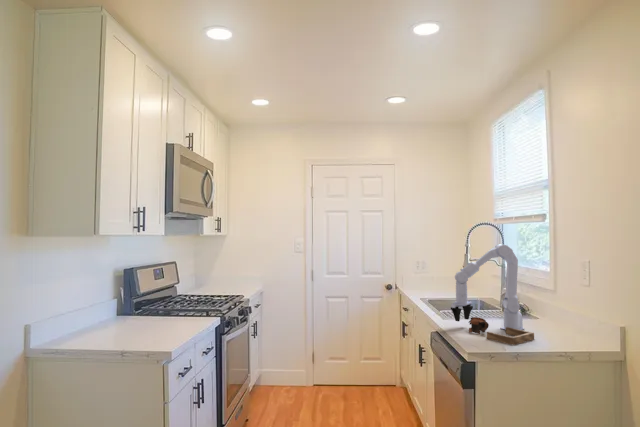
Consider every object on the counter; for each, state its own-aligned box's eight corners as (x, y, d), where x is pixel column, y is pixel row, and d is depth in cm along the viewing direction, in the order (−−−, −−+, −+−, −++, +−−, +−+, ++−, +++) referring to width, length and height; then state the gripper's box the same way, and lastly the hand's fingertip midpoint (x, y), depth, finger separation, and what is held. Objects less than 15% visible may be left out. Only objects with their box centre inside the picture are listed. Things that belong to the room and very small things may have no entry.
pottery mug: (463, 332, 210) (465, 316, 214) (476, 338, 213) (478, 323, 216) (481, 330, 200) (483, 314, 203) (495, 337, 203) (496, 321, 206)
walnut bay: (507, 333, 205) (507, 327, 205) (534, 339, 194) (534, 332, 194) (486, 338, 195) (486, 332, 196) (513, 345, 184) (513, 338, 184)
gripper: (464, 292, 225) (464, 317, 225) (446, 294, 217) (446, 320, 217) (475, 293, 219) (475, 319, 219) (457, 296, 211) (457, 323, 211)
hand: (462, 320), depth 217 cm, fingers open, 7 cm apart
